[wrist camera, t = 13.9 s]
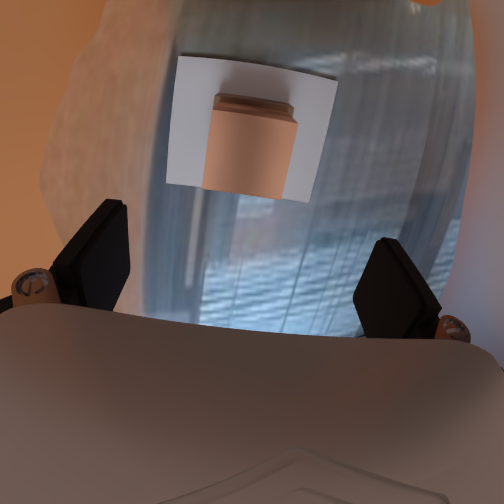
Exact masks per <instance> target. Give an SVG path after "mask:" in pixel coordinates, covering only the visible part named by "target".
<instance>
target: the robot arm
mask: <svg viewBox="0 0 504 504" xmlns="http://www.w3.org/2000/svg"><path fill="white" fill-rule="evenodd" d="M129 273H130V254H129V239H128V219H127V206H126V205H125V204H123V203H122V201H121V200H115V199H106V200H105V201H104V202H103V203H102V204H101V205H100V206H99V207H98V208H97V209H96V211H95V212H94V213H93V214H92V215H91V216H90V217H89V219H88V220H87V221H86V222H85V223H84V224H83V226H82V227H81V228H80V229H79V230H78V232H77V233H76V234H75V235H74V236H73V238H72V239H71V240H70V241H69V243H68V244H67V245H66V246H65V248H64V249H63V250H62V251H61V253H60V254H59V255H58V256H57V258H56V259H55V261H54V262H53V265H52V266H51V267H50V269H49V270H46V269H42V268H33V269H29V270H27V271H24V272H23V273H21V274H20V275H18V276H17V277H16V278H15V280H14V281H13V283H12V286H11V293H12V295H10V296H8V297H5V298H3V299H0V504H504V370H503V368H502V367H501V366H500V365H499V364H498V362H497V361H496V359H495V358H494V356H493V355H491V354H490V353H489V352H487V351H486V350H484V349H482V348H480V347H478V346H475V345H473V344H470V342H471V335H470V332H469V330H468V328H467V327H466V326H465V324H464V323H463V322H462V321H460V320H459V319H457V318H456V317H454V316H450V315H444V316H442V317H441V318H440V319H439V317H438V314H439V312H440V311H441V309H442V307H441V306H440V304H439V302H438V301H437V299H436V297H435V296H434V294H433V292H432V291H431V289H430V288H429V286H428V285H427V283H426V282H425V280H424V278H423V277H422V275H421V274H420V272H419V271H418V269H417V268H416V266H415V265H414V263H413V262H412V261H411V259H410V258H409V256H408V255H407V253H406V252H405V250H404V249H403V248H402V246H401V245H400V243H399V242H398V241H397V240H396V239H391V238H386V237H383V238H381V239H380V240H378V241H377V242H376V243H375V246H374V248H373V251H372V253H371V255H370V258H369V260H368V262H367V265H366V267H365V269H364V272H363V274H362V276H361V278H360V281H359V283H358V285H357V287H356V289H355V292H354V294H353V302H354V305H355V308H356V311H357V313H358V316H359V319H360V322H361V324H362V327H363V330H364V333H365V336H363V337H360V338H352V337H331V336H314V335H299V334H286V333H273V332H262V331H251V330H241V329H232V328H223V327H214V326H206V325H198V324H190V323H182V322H175V321H168V320H161V319H154V318H148V317H142V316H136V315H130V314H124V313H119V312H113V309H114V307H115V305H116V302H117V300H118V298H119V296H120V293H121V291H122V289H123V287H124V285H125V283H126V280H127V278H128V276H129Z"/></svg>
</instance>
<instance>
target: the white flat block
mask: <svg viewBox="0 0 504 504" xmlns="http://www.w3.org/2000/svg"><path fill="white" fill-rule="evenodd" d="M337 86H338V81H334V80H330V79H327V78H323V77H319V76H315V75H310V74H306V73H302V72H297V71H292V70H287V69H282V68H277V67H272V66H266V65H260V64H253V63H246V62H239V61H231V60H222V59H213V58H201V57H186V56H179V57H178V64H177V72H176V79H175V87H174V95H173V104H172V114H171V124H170V135H169V148H168V162H167V178H166V183H170V184H180V185H188V186H197V187H202V183H203V174H204V165H205V157H206V149H207V142H208V134H209V127H210V120H211V113H212V109H213V108H214V107H215V106H216V105H217V104H218V103H219V101H220V102H228V103H236V104H242V105H249V106H255V107H261V108H267V109H273V110H278V111H283V112H288V113H289V114H290V115H291V116H292V117H293V118H294V119H295V121H296V122H297V123H298V129H297V133H296V137H295V142H294V146H293V151H292V155H291V159H290V164H289V168H288V173H287V177H286V181H285V186H284V190H283V194H282V198H283V199H289V200H295V201H301V202H307V203H309V200H310V196H311V192H312V188H313V185H314V181H315V177H316V173H317V169H318V165H319V161H320V157H321V153H322V149H323V145H324V141H325V137H326V133H327V129H328V125H329V120H330V116H331V112H332V108H333V103H334V99H335V94H336V90H337Z"/></svg>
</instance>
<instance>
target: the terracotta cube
mask: <svg viewBox="0 0 504 504" xmlns="http://www.w3.org/2000/svg"><path fill="white" fill-rule="evenodd" d="M297 129H298V123H297V122H296V121H295V119H294V118H293V117H292V116H291V115H290V114H289V113H288V112H283V111H278V110H273V109H267V108H261V107H255V106H249V105H242V104H236V103H228V102H220V101H219V103H218V104H217V105H216V106H215V107H214V108H213V109H212V113H211V120H210V127H209V134H208V142H207V149H206V157H205V165H204V174H203V183H202V189H209V190H216V191H223V192H231V193H238V194H244V195H251V196H258V197H264V198H270V199H277V200H281V198H282V194H283V190H284V186H285V181H286V177H287V173H288V168H289V164H290V159H291V155H292V151H293V146H294V142H295V137H296V133H297Z"/></svg>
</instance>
